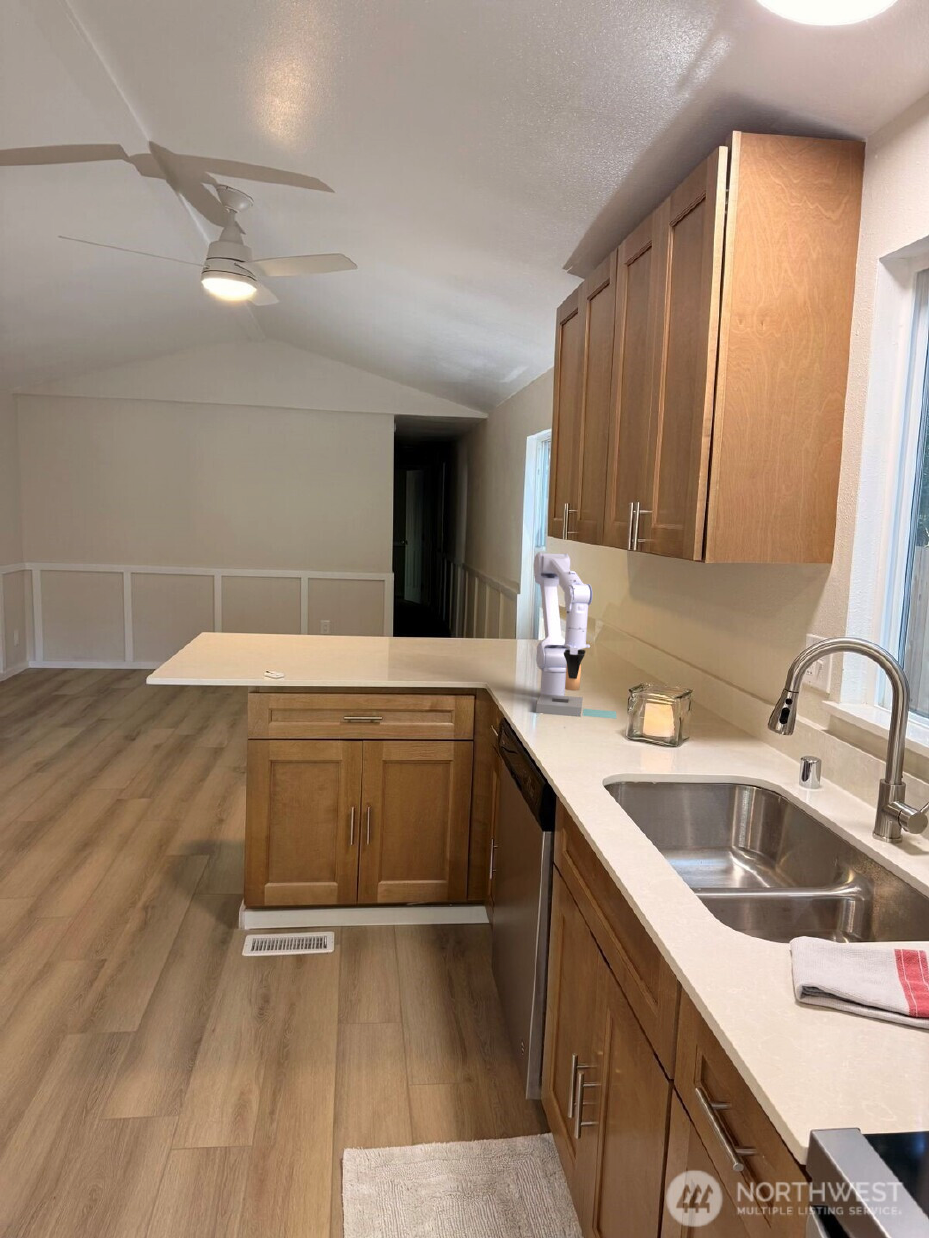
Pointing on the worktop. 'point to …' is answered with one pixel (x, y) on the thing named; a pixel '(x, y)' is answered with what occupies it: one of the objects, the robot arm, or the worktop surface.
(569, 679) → the plug
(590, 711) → the mat
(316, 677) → the worktop surface
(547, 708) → the block
